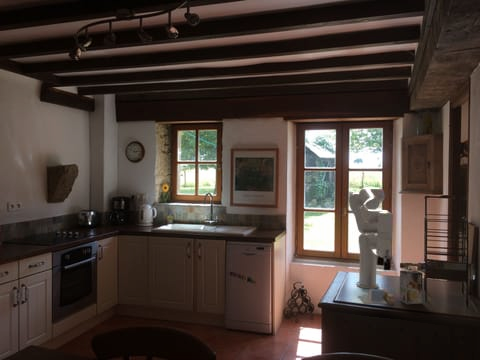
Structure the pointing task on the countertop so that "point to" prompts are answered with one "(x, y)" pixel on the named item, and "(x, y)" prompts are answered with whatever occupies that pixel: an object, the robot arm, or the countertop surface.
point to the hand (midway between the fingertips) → (383, 267)
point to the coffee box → (411, 287)
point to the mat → (367, 300)
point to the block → (375, 294)
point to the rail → (388, 297)
